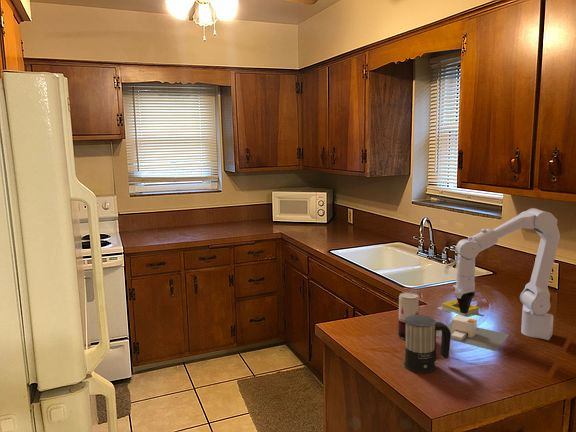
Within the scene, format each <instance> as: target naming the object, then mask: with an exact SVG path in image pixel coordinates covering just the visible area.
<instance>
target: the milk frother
mask: <svg viewBox="0 0 576 432" xmlns="http://www.w3.org/2000/svg"><path fill="white" fill-rule="evenodd" d="M405 323H406V339H405V349H404V350H405V351H404V352H405V354H404V363H403V365H404V367H405V368H406V369H407V370H409V371H410V372H413V373H418V374H427V373H431V372H433V371H435V369H436V359H437V353H436V350H437V345H436V344H437V336H436V334H437V331H439V332H440V331H442V337H440V339H441V341H440V355H441V356H442V358H443V359H447V358H448V357H449V355H450V348H451V340H450V338H451V332H450V329H449V328H448V327H447V325H446V324H445V323H443V322H441V321H437V320H436V319H435V318H434V317H431V316H429V315H424V314H418V315H411V316H408V317H406V318H405Z"/></svg>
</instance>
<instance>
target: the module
mask: <svg viewBox="0 0 576 432" xmlns="http://www.w3.org/2000/svg"><path fill="white" fill-rule="evenodd" d="M451 322H452V331H451V333H454V332H455V331H456V330H459V331H463V332H468V337H471V338H472V337H473V336H474V335H475V334H476V327H477V323H478V321H477V319H474V318H471V317H466V316H462V315H458V314H457V315H455V316H454V317H453V318H452V319H451Z"/></svg>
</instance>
